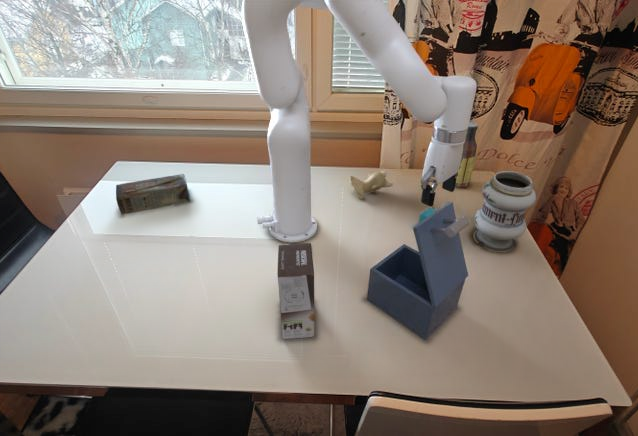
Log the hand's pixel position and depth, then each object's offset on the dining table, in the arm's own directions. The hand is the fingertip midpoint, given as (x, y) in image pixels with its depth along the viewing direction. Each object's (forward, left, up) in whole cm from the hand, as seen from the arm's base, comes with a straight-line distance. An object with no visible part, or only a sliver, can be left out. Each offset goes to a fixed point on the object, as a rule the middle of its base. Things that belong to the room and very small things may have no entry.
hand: (437, 197), depth 98 cm
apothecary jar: (+14, -8, -10) cm, 19 cm away
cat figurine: (-11, +20, -10) cm, 25 cm away
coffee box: (-39, -25, -10) cm, 48 cm away
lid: (-13, -28, +6) cm, 32 cm away
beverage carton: (-74, +26, -10) cm, 79 cm away
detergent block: (0, 0, -10) cm, 10 cm away
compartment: (-15, -25, -10) cm, 31 cm away
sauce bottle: (+19, +21, -10) cm, 30 cm away
